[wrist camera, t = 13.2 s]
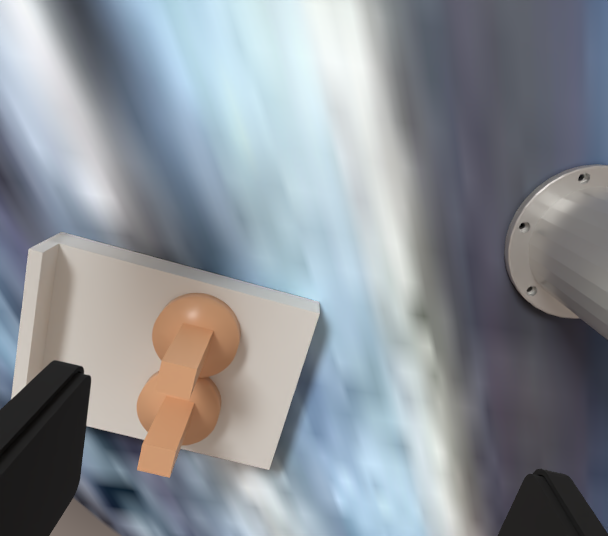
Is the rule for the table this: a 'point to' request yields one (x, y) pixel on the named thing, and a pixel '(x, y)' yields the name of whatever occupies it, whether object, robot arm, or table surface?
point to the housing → (164, 340)
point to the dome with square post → (174, 422)
